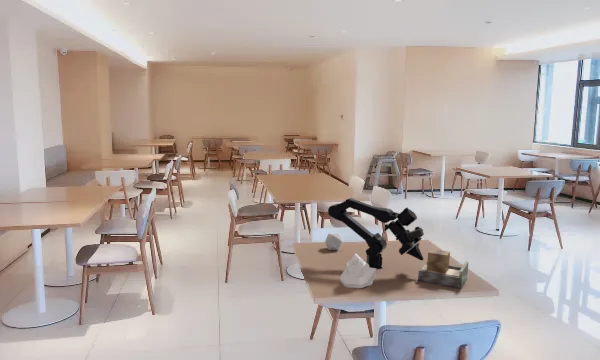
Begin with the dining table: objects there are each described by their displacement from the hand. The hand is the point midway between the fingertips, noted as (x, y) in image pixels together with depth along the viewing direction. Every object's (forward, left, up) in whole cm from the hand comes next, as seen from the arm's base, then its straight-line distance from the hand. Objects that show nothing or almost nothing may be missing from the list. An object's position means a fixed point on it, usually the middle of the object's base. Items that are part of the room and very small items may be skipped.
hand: (422, 259), depth 217 cm
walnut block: (+5, -4, -3) cm, 8 cm away
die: (-30, +44, -7) cm, 54 cm away
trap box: (+7, -6, -7) cm, 12 cm away
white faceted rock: (-33, -8, -7) cm, 35 cm away
